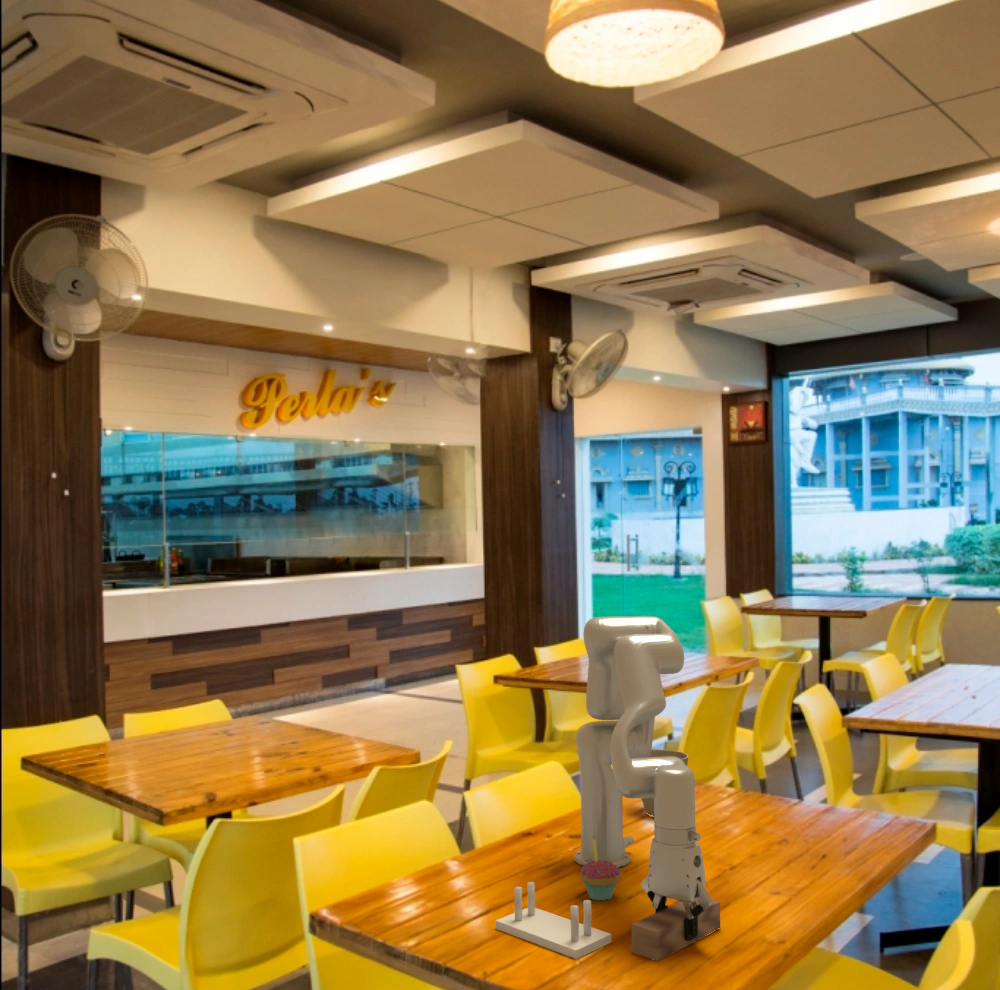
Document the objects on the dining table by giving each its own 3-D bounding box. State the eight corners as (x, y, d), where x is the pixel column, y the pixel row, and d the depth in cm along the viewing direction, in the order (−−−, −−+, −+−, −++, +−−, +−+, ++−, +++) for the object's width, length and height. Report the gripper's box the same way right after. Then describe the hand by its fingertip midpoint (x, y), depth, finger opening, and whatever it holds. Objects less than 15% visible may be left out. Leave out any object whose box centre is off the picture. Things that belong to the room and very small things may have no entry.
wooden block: (695, 921, 192) (695, 895, 193) (720, 929, 188) (719, 902, 189) (632, 952, 178) (631, 924, 178) (657, 961, 174) (656, 932, 175)
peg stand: (495, 928, 189) (495, 888, 190) (531, 913, 197) (530, 875, 197) (576, 959, 176) (575, 915, 176) (611, 942, 183) (610, 900, 183)
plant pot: (700, 814, 266) (699, 754, 266) (668, 826, 255) (667, 763, 256) (653, 804, 276) (652, 746, 277) (621, 815, 265) (620, 755, 266)
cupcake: (571, 896, 206) (571, 837, 207) (598, 886, 212) (597, 829, 212) (603, 907, 200) (603, 846, 200) (630, 896, 206) (629, 837, 206)
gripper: (726, 839, 181) (728, 941, 180) (649, 821, 193) (650, 916, 192) (703, 848, 175) (705, 953, 175) (625, 829, 187) (626, 927, 187)
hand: (676, 933), depth 183 cm, fingers closed on wooden block, 5 cm apart
